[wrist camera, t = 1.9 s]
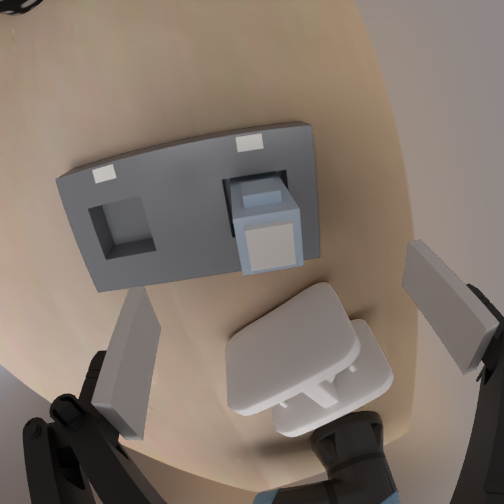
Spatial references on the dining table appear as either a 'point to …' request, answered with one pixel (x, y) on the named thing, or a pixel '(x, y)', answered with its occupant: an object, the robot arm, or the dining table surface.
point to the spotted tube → (17, 6)
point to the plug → (265, 223)
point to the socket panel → (182, 204)
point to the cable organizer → (305, 363)
